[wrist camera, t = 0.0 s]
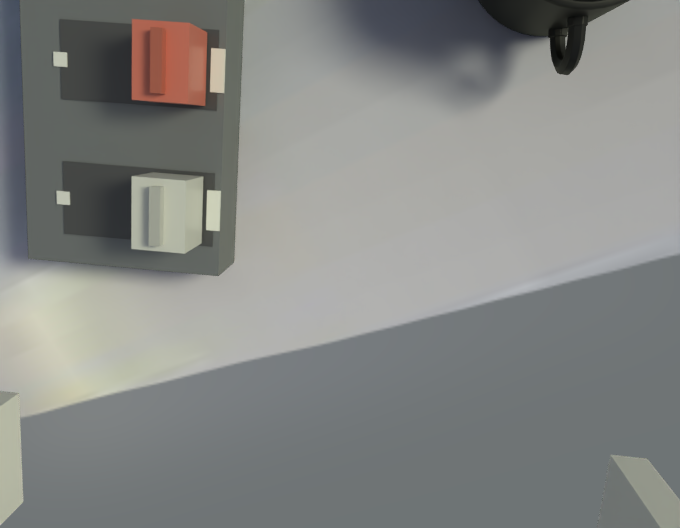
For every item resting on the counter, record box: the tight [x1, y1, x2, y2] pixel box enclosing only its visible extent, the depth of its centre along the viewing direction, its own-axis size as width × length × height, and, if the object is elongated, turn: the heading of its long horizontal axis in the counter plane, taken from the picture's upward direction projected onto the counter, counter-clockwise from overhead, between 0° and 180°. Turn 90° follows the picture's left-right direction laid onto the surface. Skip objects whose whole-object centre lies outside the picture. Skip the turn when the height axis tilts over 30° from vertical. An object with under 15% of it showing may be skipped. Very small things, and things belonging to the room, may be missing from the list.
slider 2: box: [131, 172, 203, 254], centre depth 35 cm, size 4×3×4 cm
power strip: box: [20, 0, 244, 276], centre depth 37 cm, size 30×12×4 cm, turn 176°
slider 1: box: [132, 19, 207, 106], centre depth 33 cm, size 4×3×4 cm
